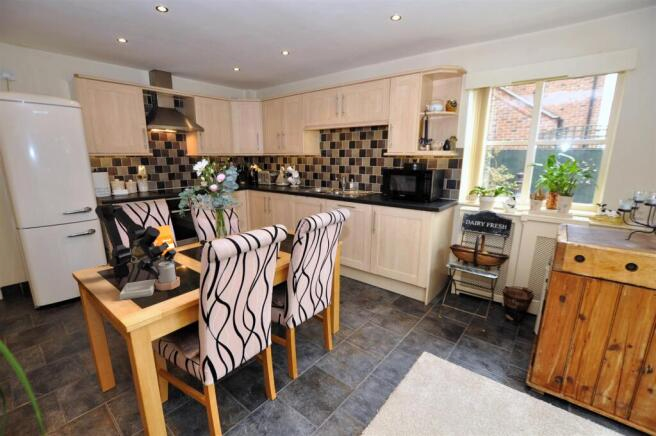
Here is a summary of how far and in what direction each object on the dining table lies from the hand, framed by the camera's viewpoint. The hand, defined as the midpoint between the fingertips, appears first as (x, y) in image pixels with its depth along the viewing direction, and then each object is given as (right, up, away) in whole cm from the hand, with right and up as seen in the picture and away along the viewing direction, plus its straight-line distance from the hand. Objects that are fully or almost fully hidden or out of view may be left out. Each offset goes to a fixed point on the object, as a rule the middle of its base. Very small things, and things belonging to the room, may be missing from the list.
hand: (167, 272), depth 151 cm
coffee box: (-36, 0, +37) cm, 51 cm away
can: (-1, -7, +2) cm, 8 cm away
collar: (-1, -7, +2) cm, 7 cm away
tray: (-11, -9, -5) cm, 15 cm away
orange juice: (-25, +2, +44) cm, 51 cm away
